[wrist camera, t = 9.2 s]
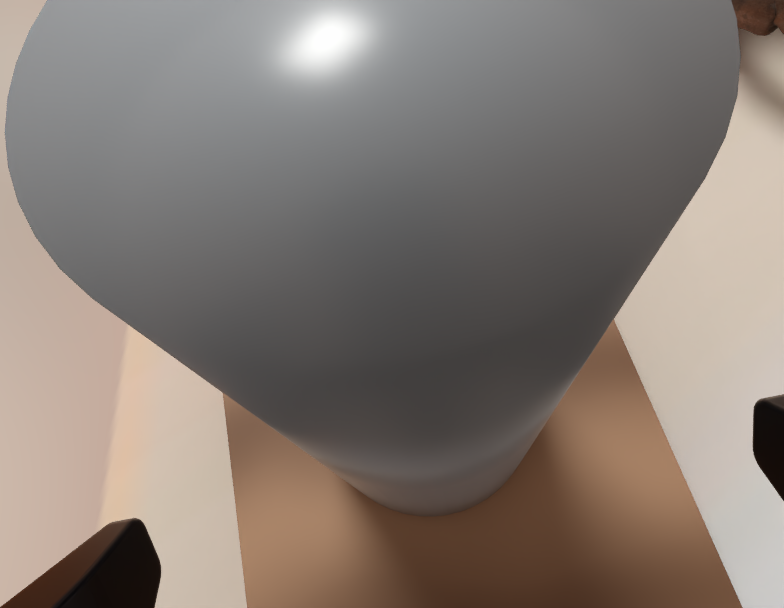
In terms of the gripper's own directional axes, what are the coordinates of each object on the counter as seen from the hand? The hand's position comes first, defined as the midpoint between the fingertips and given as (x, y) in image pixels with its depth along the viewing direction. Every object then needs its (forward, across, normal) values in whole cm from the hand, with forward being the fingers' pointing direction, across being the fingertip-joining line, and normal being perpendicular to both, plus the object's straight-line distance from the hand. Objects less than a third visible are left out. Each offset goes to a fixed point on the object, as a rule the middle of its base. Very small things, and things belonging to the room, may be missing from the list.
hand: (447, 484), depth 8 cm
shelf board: (+9, 0, +4) cm, 10 cm away
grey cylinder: (+8, 0, +3) cm, 8 cm away
